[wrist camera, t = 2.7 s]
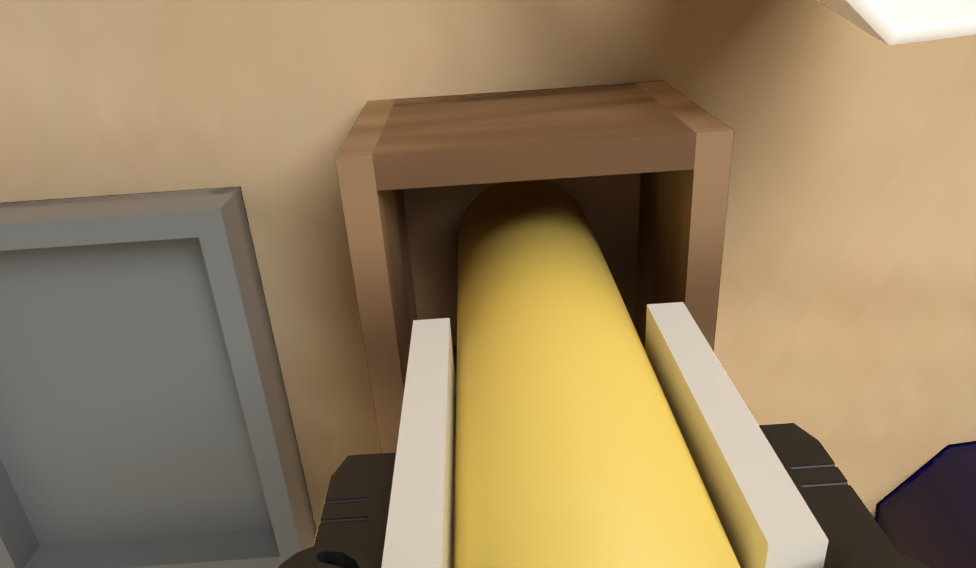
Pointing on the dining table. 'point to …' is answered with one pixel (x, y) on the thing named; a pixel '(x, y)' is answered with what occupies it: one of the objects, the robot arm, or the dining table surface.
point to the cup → (908, 18)
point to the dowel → (562, 405)
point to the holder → (521, 157)
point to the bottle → (935, 510)
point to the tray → (142, 389)
